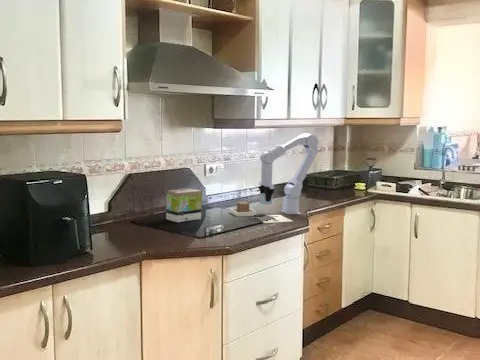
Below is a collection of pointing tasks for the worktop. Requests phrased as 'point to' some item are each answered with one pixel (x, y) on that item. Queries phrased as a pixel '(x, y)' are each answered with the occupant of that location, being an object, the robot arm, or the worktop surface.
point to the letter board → (277, 219)
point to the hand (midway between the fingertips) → (265, 200)
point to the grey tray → (250, 213)
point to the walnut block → (242, 207)
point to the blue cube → (264, 199)
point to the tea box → (184, 205)
